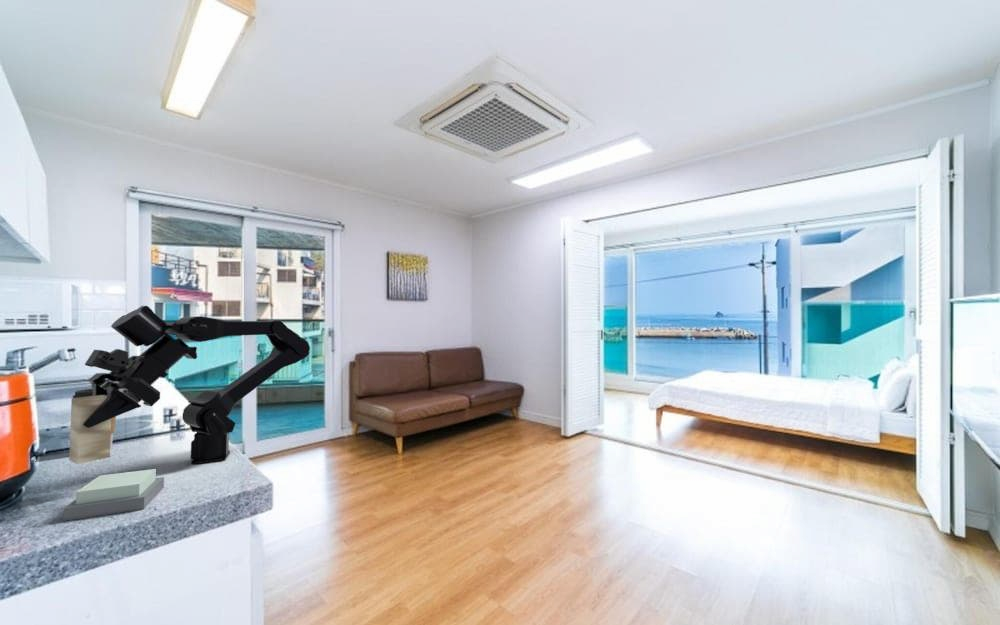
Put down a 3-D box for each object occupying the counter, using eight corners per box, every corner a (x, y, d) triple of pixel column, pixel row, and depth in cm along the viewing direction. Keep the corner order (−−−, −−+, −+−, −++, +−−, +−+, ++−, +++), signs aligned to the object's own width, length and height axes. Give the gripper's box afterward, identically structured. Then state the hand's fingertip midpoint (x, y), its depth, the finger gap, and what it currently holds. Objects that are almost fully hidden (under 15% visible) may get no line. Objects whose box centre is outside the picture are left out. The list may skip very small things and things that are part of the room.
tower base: (163, 487, 77) (164, 466, 77) (144, 508, 68) (144, 485, 68) (94, 496, 73) (95, 474, 73) (63, 520, 64) (64, 495, 64)
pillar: (101, 453, 79) (103, 394, 79) (109, 457, 77) (112, 396, 77) (69, 460, 75) (71, 398, 75) (77, 463, 73) (80, 400, 73)
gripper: (103, 334, 85) (21, 394, 75) (141, 335, 76) (53, 404, 66) (148, 368, 91) (78, 427, 81) (189, 373, 82) (115, 440, 72)
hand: (80, 424), depth 75 cm, fingers closed on pillar, 4 cm apart
